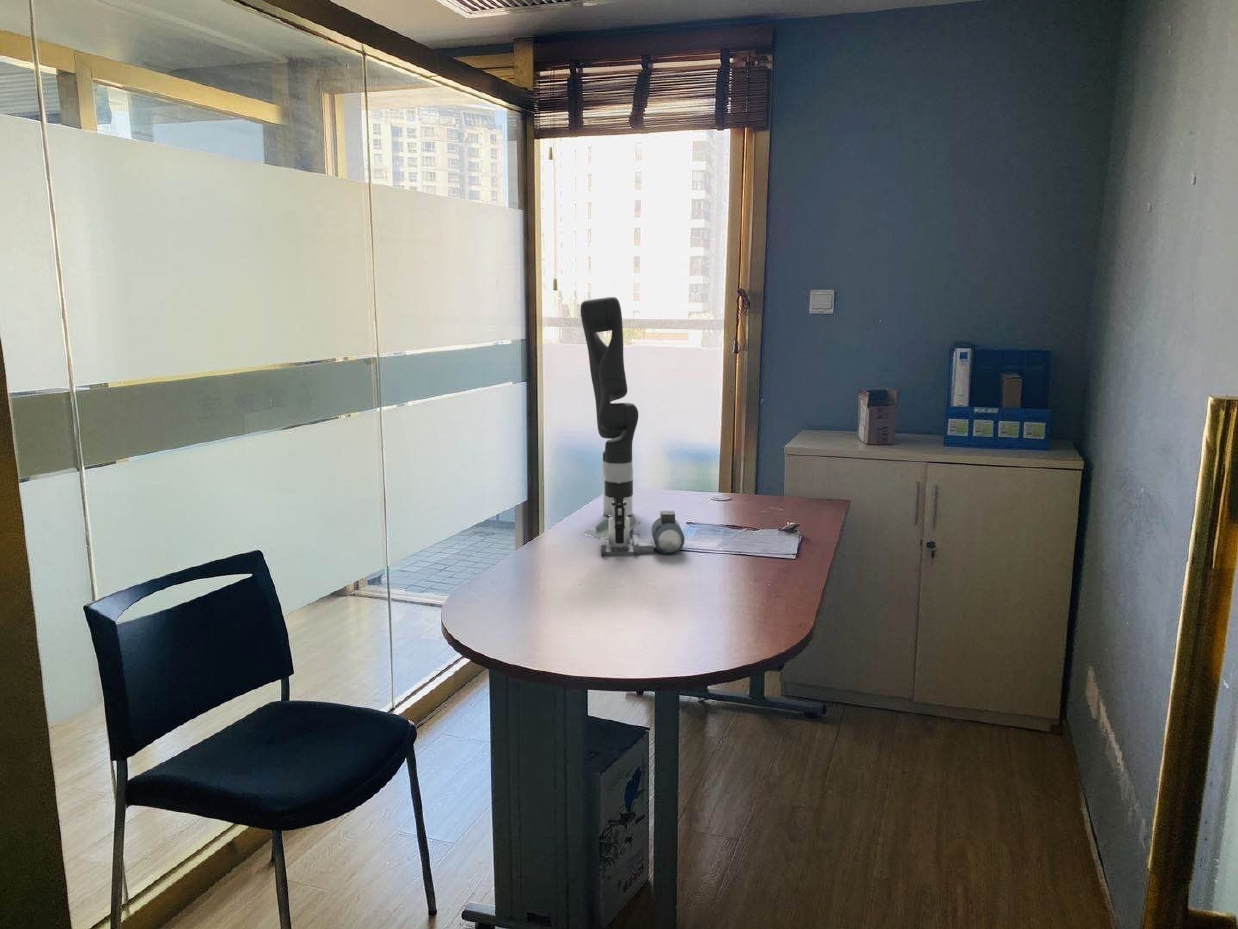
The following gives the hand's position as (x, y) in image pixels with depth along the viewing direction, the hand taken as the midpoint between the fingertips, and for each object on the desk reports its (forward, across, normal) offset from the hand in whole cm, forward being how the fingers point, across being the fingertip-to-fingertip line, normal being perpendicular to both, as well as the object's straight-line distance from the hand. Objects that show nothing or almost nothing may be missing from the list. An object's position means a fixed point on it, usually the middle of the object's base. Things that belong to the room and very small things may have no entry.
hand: (619, 539), depth 238 cm
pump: (+1, 0, 0) cm, 1 cm away
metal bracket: (+4, -17, -1) cm, 18 cm away
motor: (+3, +1, +6) cm, 7 cm away
